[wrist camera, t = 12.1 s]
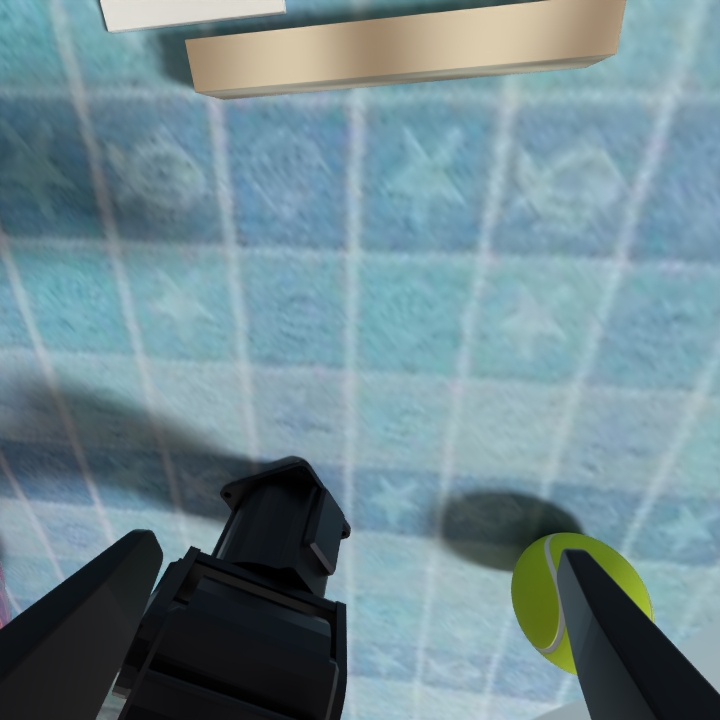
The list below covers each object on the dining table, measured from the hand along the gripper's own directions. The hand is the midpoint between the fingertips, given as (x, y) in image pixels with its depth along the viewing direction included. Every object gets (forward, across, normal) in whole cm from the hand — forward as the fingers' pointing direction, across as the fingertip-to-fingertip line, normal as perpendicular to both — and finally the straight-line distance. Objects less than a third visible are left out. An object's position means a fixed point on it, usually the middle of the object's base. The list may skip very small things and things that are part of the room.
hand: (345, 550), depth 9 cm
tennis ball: (+13, -10, +16) cm, 23 cm away
